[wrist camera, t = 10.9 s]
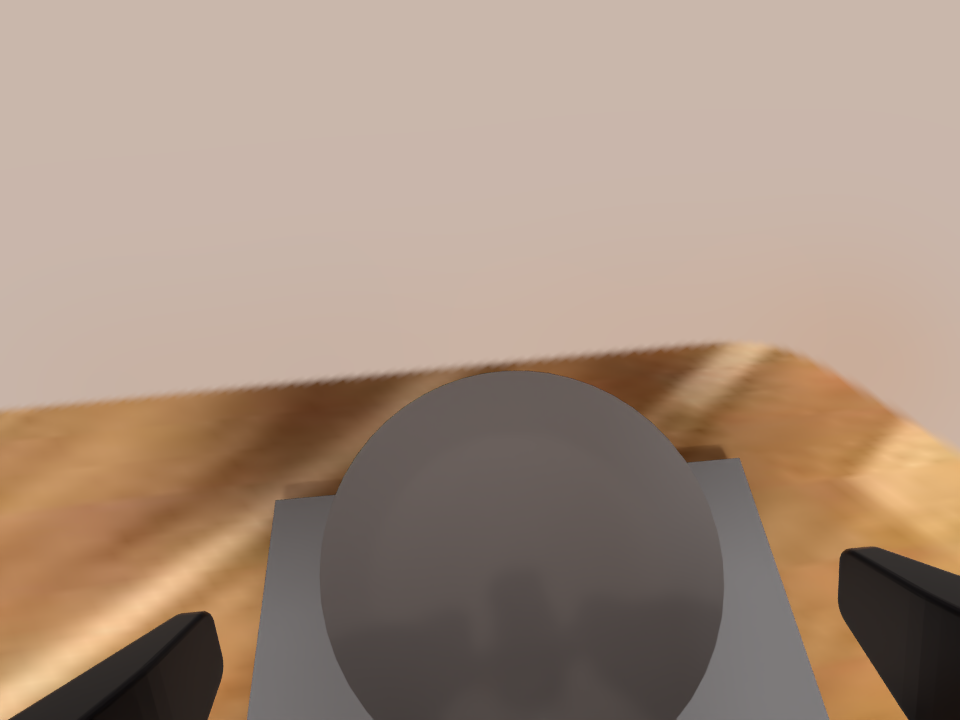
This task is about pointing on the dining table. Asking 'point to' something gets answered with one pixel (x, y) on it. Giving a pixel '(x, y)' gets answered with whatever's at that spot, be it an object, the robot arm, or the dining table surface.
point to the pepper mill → (521, 559)
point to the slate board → (708, 716)
